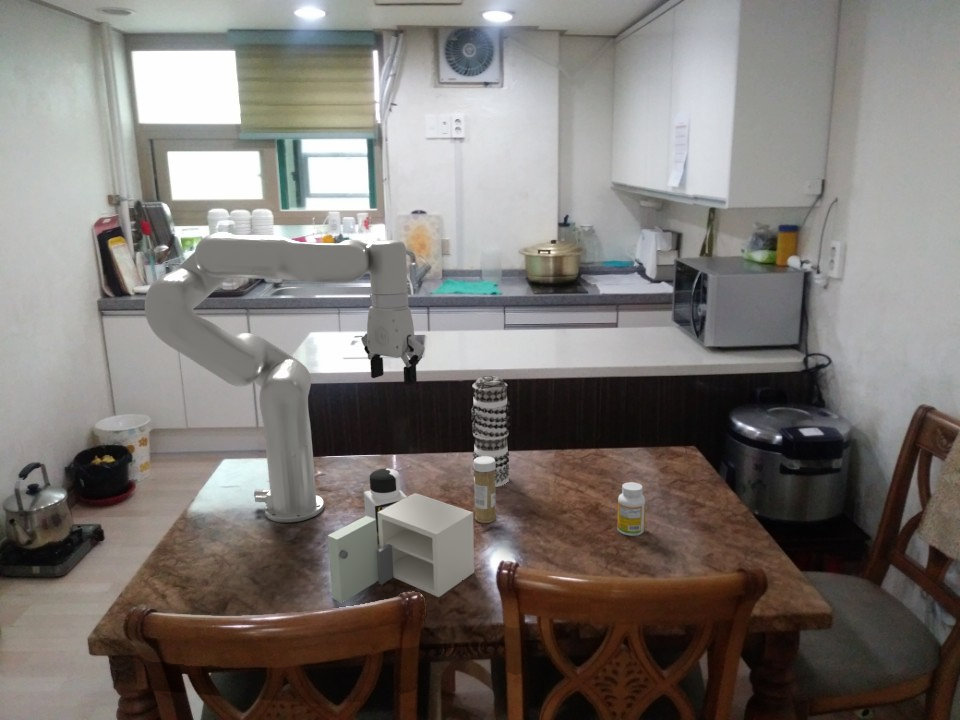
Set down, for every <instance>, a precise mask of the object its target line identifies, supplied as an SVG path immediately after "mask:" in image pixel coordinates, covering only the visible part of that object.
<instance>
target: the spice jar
mask: <svg viewBox="0 0 960 720" xmlns="http://www.w3.org/2000/svg"><path fill="white" fill-rule="evenodd" d="M472 464H473V465H474V470H473V472H474V471H475V482H474V481H473V482H474V505H475V506H474V507H475V512H474V513H475V515H474V518H475V520H476V521H477V522H478V523H481V524H487V523H488V524H489V523H493V522H495V520H496V519H497V515H496V504H497V503H496V501H497V500H496V487H495V468H496V464H495V459H494V458H492V457H488V456H481V457H477V458H475V459H474V462H472Z"/></svg>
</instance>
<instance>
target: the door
mask: <svg viewBox="0 0 960 720" xmlns="http://www.w3.org/2000/svg"><path fill="white" fill-rule="evenodd" d="M327 544H328V545H327V546H328V556H329V557H328V559H329V570H330V573H329V574H330V584H331V596H332V599H333V600H335V601H337V602H339V603H341V602H343V601H344V602H345V600H346V601H348V600H349V599H351V598H352V597H354V596H355V595H357V594H359V593H361V592H362V591H364V590H366V589H367V588H368V587H370V586H372V585H374V584H375V583H377V582H378V565H377V550H379V549H378V548H379V547H378V536H377V528H376V519H374V518H371V517H369V516H365V515H364V516H363V517H361V518H359V519H357V520H355V521H353V522H352V523H349V524H347V525H346V526H343V527H341V528H339V529H337V530H335V531H334V532H331V533H329V534H328V535H327ZM347 599H348V600H347ZM344 602H343V603H344Z"/></svg>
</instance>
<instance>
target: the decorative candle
mask: <svg viewBox="0 0 960 720" xmlns="http://www.w3.org/2000/svg"><path fill="white" fill-rule="evenodd" d="M507 387H508V384H507V383H506V382H504V380H503V378H501V377H498V376H493V375H485V376H481V377H479V378H477V379H476V380H475V382H474V383H473V384H472V388H473V396H472V397H473V403H472V404H473V405H472V406H471V407H472V408H471V409H470V414H471V418H470V419H471V421H473V422H472V423H471V428H472V429H471V430H472V432H471V433H472V435H473V437H474V445H473V446H474V447H473V448H474V449H473V450H474V451H473V452H472V456H473V458H472V460H473V462H472V463H474V459H475V458H477V457H481V456H488V457H492V458H494V459H495V464H496V468H495V488H496V487H498V488H499V487H502V485H503V486H505V485H506V483H507V482H508V483H509V482H510V477H509V476H510V471H509V470H510V465H509V464H508V463H509V462H510V458H509V456H510V452H509V451H508V449H509V448H508V436H509V433H510V431H509V430H508V429H507V428H508V427H509V426H510V422H509V420H511V418H510V415H508V413H509V412H511V408H510V407H509V406H510V405H511V401H510V400H508V396H507ZM472 470H473V472H472V473H473V482H475V471H474V465H473V466H472ZM508 483H507V484H508ZM504 484H505V485H504Z"/></svg>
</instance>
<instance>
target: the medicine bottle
mask: <svg viewBox="0 0 960 720" xmlns="http://www.w3.org/2000/svg"><path fill="white" fill-rule="evenodd" d="M400 479H401V478H400V473H399V471H397V470H395V469H392V468H380V469H376V470H375V471H372V472H371V473H370V474H369V490H365V491H364V492H363V502H364V514H365V515H364V517H365V516H369V517H371V518H374V519H376V528H377V537H379V531H378V512H379V511H381V510H383V509H385V508H387V507H389V506H391V505H393V504H395V503H397V502H398V501H400V500H402V499H404V498H406V497H408V496H407V495H406V494H405V493H404V492H403V491H402V490H401V483H400V482H401V480H400Z"/></svg>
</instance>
